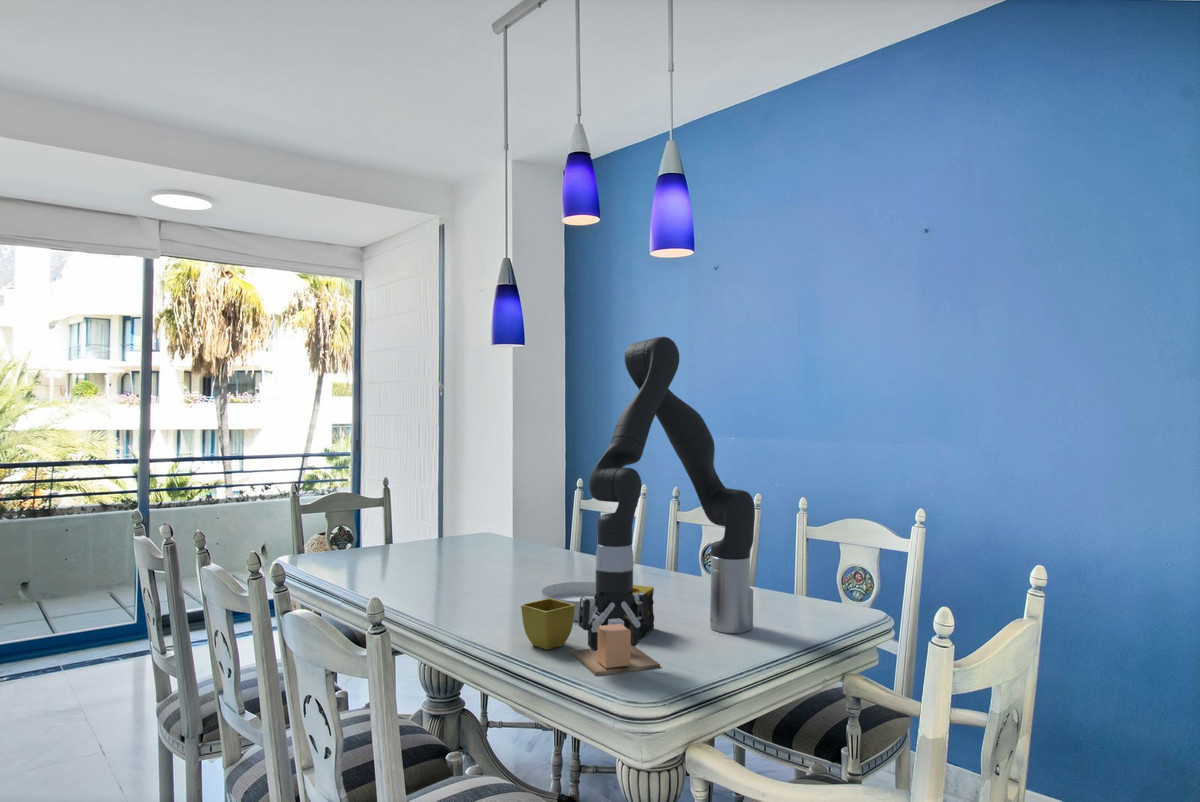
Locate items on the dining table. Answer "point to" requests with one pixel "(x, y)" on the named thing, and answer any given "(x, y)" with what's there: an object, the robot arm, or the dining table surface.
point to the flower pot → (548, 622)
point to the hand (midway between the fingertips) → (613, 647)
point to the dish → (571, 594)
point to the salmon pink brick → (613, 645)
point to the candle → (644, 627)
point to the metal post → (615, 621)
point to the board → (636, 663)
